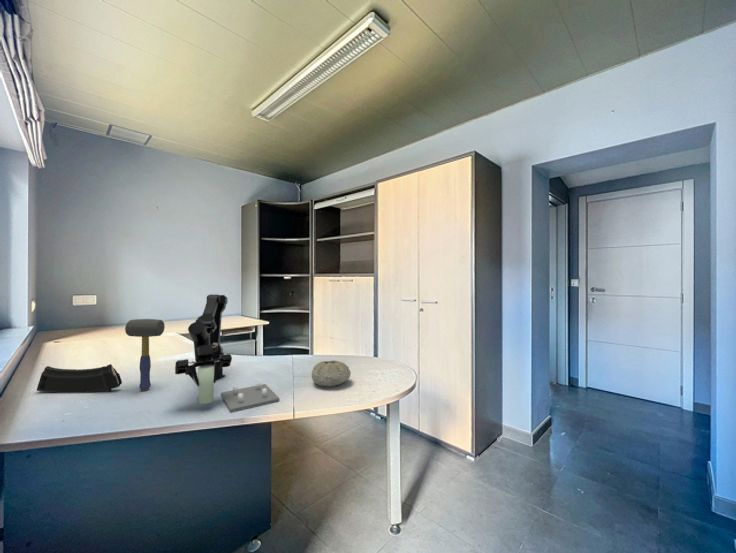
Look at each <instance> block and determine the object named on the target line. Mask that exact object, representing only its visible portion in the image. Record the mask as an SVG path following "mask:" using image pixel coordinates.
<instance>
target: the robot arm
mask: <svg viewBox="0 0 736 553" xmlns="http://www.w3.org/2000/svg"><path fill="white" fill-rule="evenodd" d="M227 305H228V297H227V296H226V295H225V294H208V295H206V303H205V306H204V309H203V312H202V314H201V315H200V316H198V318H197V319H195V322H192V323H191V324H189V326H188V328H187V331H188V333H189V336H190V338H191V341H193V348H194V349H193V351H194V360H195V361H192V360H191V361H189V359H188V358H187V359H186V358H185V359H180V360H176V361H175V368H174V374H175V375H183V374H185V375H186V376H187V375H188V376H189V377H190V378H191V379H192V381H193V382H194V384H195V385H196V387H198V386H199V382H198V371H197V368H199V367H201V366H204V365H213V366H214V384H216V381H217V380H219V379H222V378H224V377H225V374H223V373H224V370H223V368H227V367H230V366H231V364H232V360H233V359H232V358H233V357H232V354H231V353H225V352H224V348H223V347H222V346H221V334H222V333H221V331H222V330H221V329H222V318H223V317H222V316H223V313H224V311H225V310H226V309H227Z"/></svg>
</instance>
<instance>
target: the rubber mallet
mask: <svg viewBox="0 0 736 553" xmlns="http://www.w3.org/2000/svg"><path fill="white" fill-rule="evenodd" d="M165 325H166V324H165V323H164V321H163V320H162V319H157V318H155V319H153V318H138V319H137V318H135V319H130V320H128V321H127V322H126V324H125V328H124V331H125V334H126V335H127V336H129V337H136V338H137V337H140V338H141V356H140V359H139V373H140V378H139V379H140V380H139V385H138V388H139V389H140V391H148V390H150V389H151V387H152V386H151V385H152V383H151V380H150V379H151V367H152V365H151V364H152V363H151V362H152V361H151V356H150V337H159V336H162V335H163V333H164V331H165Z"/></svg>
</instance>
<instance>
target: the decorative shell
mask: <svg viewBox="0 0 736 553" xmlns="http://www.w3.org/2000/svg"><path fill="white" fill-rule="evenodd" d="M351 374H352V373H351V370H350V368H349V366H348V365H347V364H346V363H345V362H341V361H339V360H323V361H322V360H321V361H320V362H317V363H316V364H315V365H314V366H313V368H312V370H311V379H312V381H313V382H314V384H316V385H319V386H322V387H336V386H338V385H341V384H343V383H344V382H347V381H348V380H349V379H350V377H351Z"/></svg>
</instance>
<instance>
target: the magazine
mask: <svg viewBox="0 0 736 553" xmlns="http://www.w3.org/2000/svg"><path fill="white" fill-rule="evenodd" d="M122 384H123V380H122V378H121V375H120V373H118V371H117V370H116V368H115V367H113V365H112V363H111V364H107V365H105V366H101V367H96V368H94V367H93V368H86V369H84V368H83V369H72V368H68V369H67V368H58V367H57V368H56V367H53V366H49V365H47V366H46V367H44V370H43V371H42V372H41V374H40V377H39V381H38V384H37V387H36V391H42V392H48V393H49V392H50V393H60V394H85V393H87V394H88V393H96V392H103V391H108V392H109V393H111V392H112V391H113V389H116V388H118V387H120V386H121V385H122Z"/></svg>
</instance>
